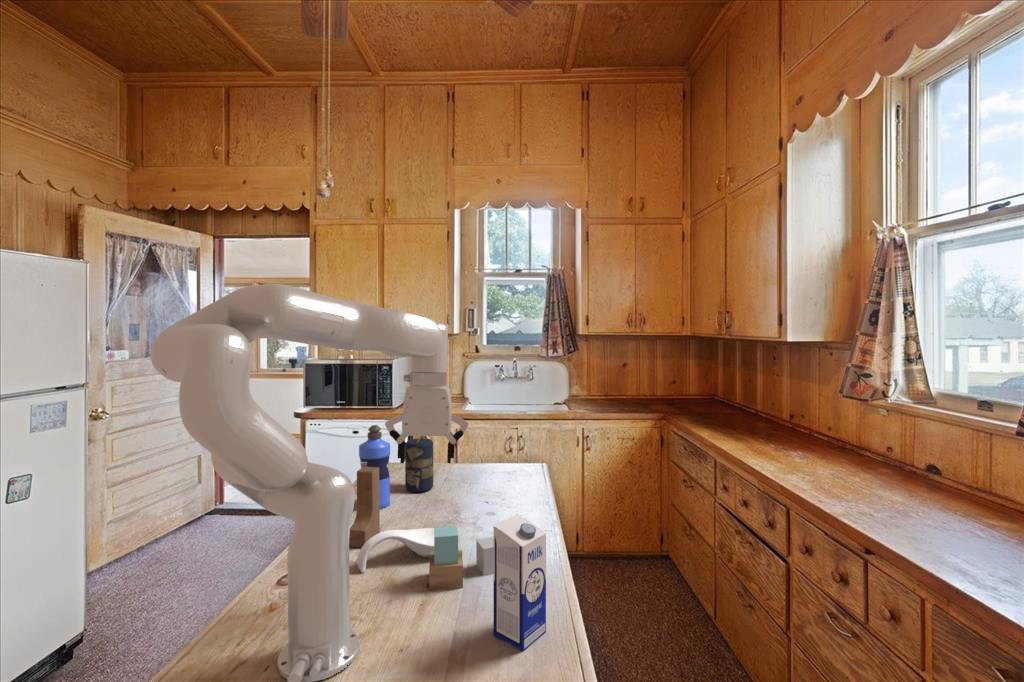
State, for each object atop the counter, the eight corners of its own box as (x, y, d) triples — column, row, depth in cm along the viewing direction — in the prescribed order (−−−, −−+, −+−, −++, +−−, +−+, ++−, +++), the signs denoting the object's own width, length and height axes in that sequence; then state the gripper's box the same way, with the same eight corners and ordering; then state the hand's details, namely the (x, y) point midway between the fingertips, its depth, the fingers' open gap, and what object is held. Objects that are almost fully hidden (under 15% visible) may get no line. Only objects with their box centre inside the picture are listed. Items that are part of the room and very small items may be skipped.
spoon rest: (444, 537, 124) (444, 510, 124) (464, 555, 114) (464, 526, 114) (352, 560, 111) (352, 530, 111) (366, 583, 101) (365, 550, 101)
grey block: (504, 571, 106) (504, 545, 106) (483, 575, 104) (483, 549, 104) (496, 561, 110) (496, 536, 110) (476, 565, 108) (476, 539, 108)
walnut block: (462, 588, 99) (462, 565, 99) (429, 591, 98) (429, 567, 98) (461, 572, 106) (461, 550, 106) (430, 574, 105) (430, 552, 105)
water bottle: (383, 497, 153) (383, 421, 152) (395, 506, 145) (394, 426, 145) (355, 504, 147) (354, 425, 147) (365, 513, 140) (365, 430, 139)
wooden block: (365, 548, 117) (364, 477, 116) (348, 547, 117) (347, 476, 117) (380, 533, 126) (379, 466, 125) (364, 532, 126) (363, 466, 126)
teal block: (458, 563, 100) (458, 535, 99) (434, 565, 99) (434, 537, 99) (456, 552, 104) (456, 525, 104) (434, 554, 104) (434, 527, 104)
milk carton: (517, 617, 89) (517, 512, 88) (546, 631, 84) (546, 521, 84) (492, 635, 83) (492, 524, 83) (522, 652, 79) (522, 534, 79)
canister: (400, 492, 158) (399, 439, 157) (413, 483, 167) (413, 433, 166) (425, 495, 155) (425, 441, 155) (438, 486, 164) (438, 435, 164)
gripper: (384, 381, 94) (381, 466, 94) (470, 382, 96) (467, 466, 96) (389, 378, 102) (386, 457, 101) (468, 380, 104) (466, 457, 103)
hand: (426, 461), depth 99 cm, fingers open, 9 cm apart
